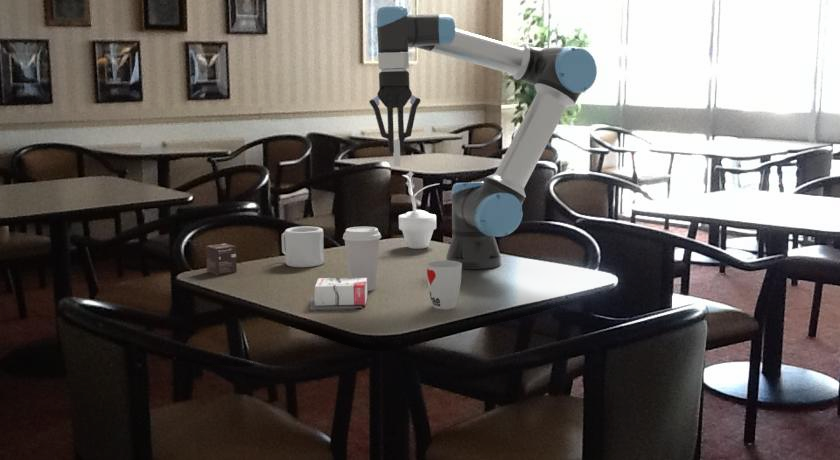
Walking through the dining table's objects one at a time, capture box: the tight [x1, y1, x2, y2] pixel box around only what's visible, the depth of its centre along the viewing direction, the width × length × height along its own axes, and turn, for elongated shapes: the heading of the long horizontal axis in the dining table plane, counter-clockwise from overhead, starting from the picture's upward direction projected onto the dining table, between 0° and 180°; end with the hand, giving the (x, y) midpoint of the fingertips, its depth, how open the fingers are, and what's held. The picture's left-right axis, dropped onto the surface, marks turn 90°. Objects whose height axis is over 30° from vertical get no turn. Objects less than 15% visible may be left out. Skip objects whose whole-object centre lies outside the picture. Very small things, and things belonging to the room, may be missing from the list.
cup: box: [425, 260, 463, 310], centre depth 220 cm, size 8×8×10 cm
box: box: [205, 243, 238, 276], centre depth 262 cm, size 6×6×7 cm
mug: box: [281, 225, 325, 268], centre depth 272 cm, size 14×11×10 cm
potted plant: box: [398, 167, 439, 250], centre depth 293 cm, size 13×12×25 cm
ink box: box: [314, 277, 368, 306], centre depth 225 cm, size 9×5×12 cm
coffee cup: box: [342, 226, 382, 292], centre depth 239 cm, size 10×10×15 cm
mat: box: [309, 297, 363, 311], centre depth 225 cm, size 12×11×1 cm
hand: (397, 165), depth 243 cm, fingers closed
